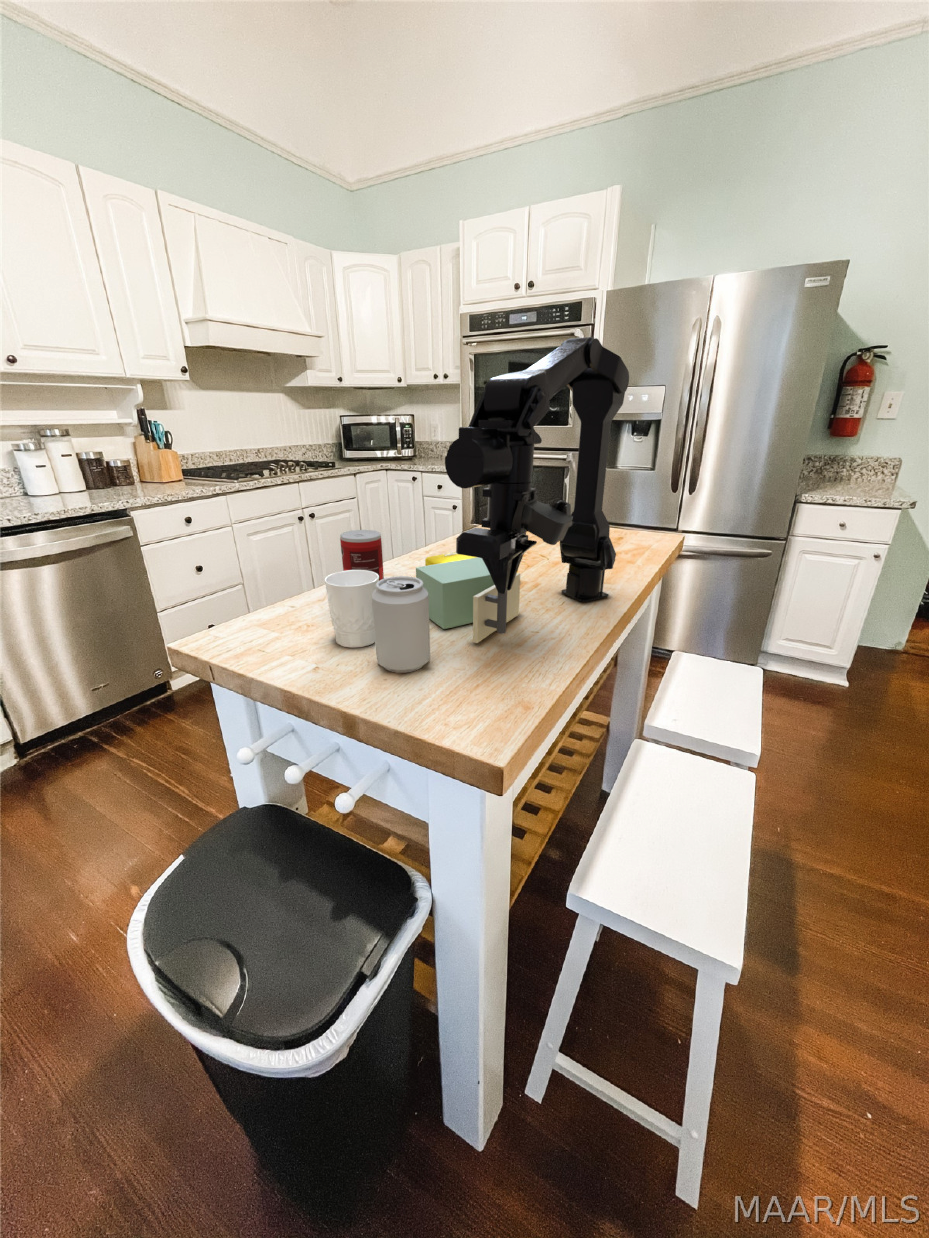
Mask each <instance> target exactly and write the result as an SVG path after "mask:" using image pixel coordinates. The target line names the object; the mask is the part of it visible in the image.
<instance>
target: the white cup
mask: <svg viewBox="0 0 929 1238" xmlns="http://www.w3.org/2000/svg"><path fill="white" fill-rule="evenodd" d="M378 581H379V575H378V574H377V573H375V572H372V571H367V570H347V571H343V570H341V571H336V572H333V573H331V574H329V575H327V576H326V577H325V578H324V585H325V591H326V598H327V602H328V610H329V615H330V619H331V625H332V627H333V630H334V638H335V643H336V644H337V645H338V646H339V645H340V647H343V648H344V647H345V648H351V649H352V648H364V647H367V646H371V645H373V644H374V643H375V632H374V619H373V606H372V594H373V592H374V591H375V590H376V589H377V588H376V583H377V582H378Z"/></svg>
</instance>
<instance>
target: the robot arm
mask: <svg viewBox="0 0 929 1238" xmlns="http://www.w3.org/2000/svg"><path fill="white" fill-rule="evenodd" d="M629 383H630V372H629V369H628V367H627V366H626V364H625V362H624V360H623V359H622V357H621V356H620V355H618V354H617V353H615V352H613V351H612V350H610V349H608V348H606V347H604V346H603V344H602V343H601V341H600V339H598V338H597V337H596V338H595V337H594V336H585V337H584V336H583V337H574V338H568V339H566V340H564V341H562V343H561V344H560V346H558V347H557V348H556V349H554V350H553V351H551V352H549V353H548V354H547V355H546V356H544V357H542V358H541V359H539V360H538V361H536V362H535V363H534V364H532V365H531V366H529V367H528V368H526V369H524V370H519V371H514V372H509V373H504V374H501V375H498V376H494V377H492V378H490V379H488V381H487V382H486V384H485V385H484V388H483V389H484V391H483V392H482V394H481V396H480V399H479V401H478V403H477V405H476V408H475V410H474V413H473V415H472V417H471V420H470V422H469V424H468V426H460V427H459V428H458V438H456V439H455V440H454V441H452V443H451V444H450V445H449V447H448V449H447V452H446V455H445V457H444V466H445V472H446V475H447V476H448V479H449V480H450V481H451V482H452V484H454V485H455V486H456V487H458V488H461V489H470V488H478V487H482V486H488V487H485V488H482V495H481V496H482V497H484V498H487V517H485V518H482V519H481V527H473V528H470V529H468V530H464V531H462V532H461V533H460V534H459V536H457V537H456V539H455V541H456V542H455V552H456V553H457V554H461V555H466V556H472V557H478V558H482V559H483V561H484V563H485V565H486V567H487V569H488V571H489V573H490V576H491V578H492V580H493V582H494V585H495V587H496V589H497V591H498V593H501V594H505V593H506V590H511V588H512V585H513V582H514V579H515V576H516V574H517V571H518V572H519V567H520V565H521V562H522V559H523V557H524V554H525V553H526V552H527V551H529V550H530V549H531V548H532V547H534V546H535V545H537V543H538V541H536V540H532V539H529V535H528V534H527V532H528V533H530V534H532V535H533V536H535V537H537V538H539V539H541V540H542V541H543V543H545V544H547V545H551V546H555V545H557V544H558V543H559V551H560V560H561V563H562V564H567V565H568V572H567V573H566V584H565V589H561V590H560V591H561V594H562V595H565V596H568V597H570V598H572V599H574V600H576V601H578V602H580V603H588V602H593V601H597V600H602V599H606V598H609V596H610V595H609V593H607V592H605V591H604V582H605V573H606V571H607V570H613V569H614V565H615V562H616V557H617V553H616V550H615V547H614V545H613V541H612V540H611V537H610V530H611V529H610V527H611V526H610V523H609V521H608V519H607V517H606V515H605V513H604V511H603V504H604V495H605V494H604V493H605V485H606V484H605V483H606V475H607V465H608V464H607V463H608V456H609V455H608V454H609V446H610V445H609V444H610V437H611V436H610V435H611V426H612V421H613V420H614V418H615V417H616V416H617V414H618V413H619V411H620V409H621V408H622V407H623V405H624V400H625V395H626V392H627V391H628V387H629ZM565 387H568V389H569V390H570V391H571V392H572V393H571V395H572V398H571V400H572V402H571V405H572V407H573V409H574V411H575V413H576V415H577V417H578V419H579V421H580V430H579V440H578V441H579V442H578V451H577V466H576V479H575V492H574V494H575V495H574V502H573V503H574V504H573V511H572V507H571V503H569V502H567V501H565V500H563V499H561V500H558V501H556V502H555V503H554V504H553V505H551V504H550V503H544V502H542V501H539V491H537V488H536V487H532V484H533V472H534V471H533V468H534V457H535V456H534V455H535V445H540V444H541V443H542V441H543V440H542V437H541V436H540V434H539V433H538V432H537V431H536V430H535V428H534V427H535V426H537V425H538V424H539V423H540V422H541V420H542V419H543V418H544V417H545V416H546V414H547V413H548V412H549V410H550V409H551V405H550V400H551V399H552V398H553V397H554V396H555V395H556V394H558V393H559V392H560V391H561V390H563V389H564V388H565Z"/></svg>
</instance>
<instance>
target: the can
mask: <svg viewBox="0 0 929 1238" xmlns="http://www.w3.org/2000/svg"><path fill="white" fill-rule="evenodd" d="M376 588H377V589H376V590H375V591H374V592H373V594H372V606H373V619H374V632H375V642H374V643H375V656H376V661H377V664H378V665H380V666H381V667H382V668H384V669H385V670H387V671H389V672H392V673H397V674H400V673H401V674H406V673H412V672H415V671H418V670H420V669H421V668H423V667H424V666H425V665H426V664H427V663H428V662H429V661H430V660H431V636H430V635H431V633H430V632H431V631H430V619H429V596H428V592H427V590H426V589H425V588H424V587H423V582H422V580H420V579H418V578H416V576H408V575H397V576H389V577H384V579H382V580H380V581H378V582H377V583H376Z"/></svg>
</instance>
